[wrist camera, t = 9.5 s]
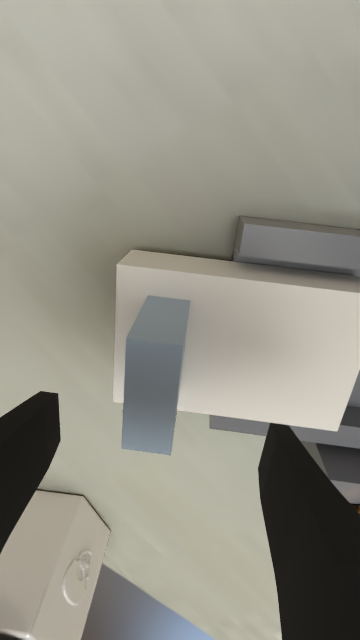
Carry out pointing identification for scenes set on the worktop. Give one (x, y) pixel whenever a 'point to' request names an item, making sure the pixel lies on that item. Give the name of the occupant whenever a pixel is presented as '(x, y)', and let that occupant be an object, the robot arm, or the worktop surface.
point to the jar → (51, 568)
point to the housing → (323, 256)
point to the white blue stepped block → (230, 344)
